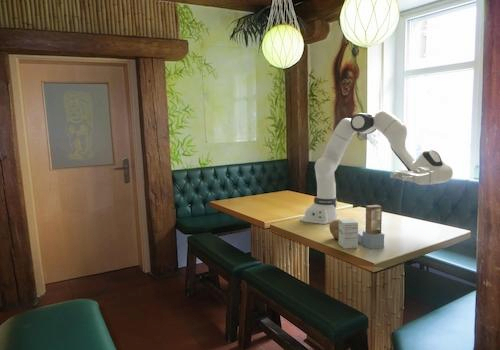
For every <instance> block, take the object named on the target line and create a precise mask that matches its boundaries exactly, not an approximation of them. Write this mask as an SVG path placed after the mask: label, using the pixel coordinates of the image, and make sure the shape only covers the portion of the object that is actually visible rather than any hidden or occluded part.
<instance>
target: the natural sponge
mask: <svg viewBox="0 0 500 350" xmlns="http://www.w3.org/2000/svg"><path fill="white" fill-rule="evenodd" d="M328 228H329V232H330V234H331V235H332V237H333V238H334V239H335V240H339V219H338V220H334V221H332V222H331V223H329V224H328Z"/></svg>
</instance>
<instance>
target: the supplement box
mask: <svg viewBox="0 0 500 350" xmlns="http://www.w3.org/2000/svg"><path fill="white" fill-rule="evenodd" d="M338 220H339V239H338V244H339V246H341V247H342V249H355V248H356V249H357V248H358V247H359V242H358V231H359V222H358V221H357V220H356V219H354V218H338Z"/></svg>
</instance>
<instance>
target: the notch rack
mask: <svg viewBox="0 0 500 350" xmlns="http://www.w3.org/2000/svg"><path fill="white" fill-rule="evenodd" d="M365 231H366V229H364V230H358V243H360V244H362V245H363V246H365V247H366V248H369V249H370V250H373V249H380V248H382V249H383V248H384V247H385V233H383V232H381V233H378V234H368V233H366V232H365Z"/></svg>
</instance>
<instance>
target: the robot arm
mask: <svg viewBox="0 0 500 350" xmlns="http://www.w3.org/2000/svg"><path fill="white" fill-rule="evenodd" d="M376 130H378V131H379V132H380V133H381V134H382V135H383V136H384V137H385V138H386V139H387V141H388V143H389V145H390V149H391V150H392V152H393V153H394V154H395V155H396V157H397V158H398V159H399V160H400V162H401V163H402V165H404V167H405V168H406V169H407V170H394V172H393V173H390V175H389V176H390V177H389V178H391V179H399V180H402V181H403V182H404V181H405V182H406V181H407V182H411V183H415V184H417V185H421V186H422V185H423V186H424V185H429V186H431V185H434V184H437V185H438V184H443V183H447V182H449V181H451V179H452V177H453V174H454V172H453V169H452V167H451V166H449V165H447V164H446V163H445V162H444V161H443V160H442V158H441V156H440V154H439V153H438V152H437V151H436V150H433V149H424V150H423V151H422V153H421V154H420V155H419V156H418V157H417V158H416V160H415V158H414V157H413V156H412V155H411V154H410V152H409V151H408V150H407V148H406V139H407V135H408V129H407V126H406V125H405V124H404V123H403V122H402V121H401V120H400V119H399V118H398V117H396V116H395V115H394V114H393V113H391V112H389V111H387V110H385V109H381V110H379V111H377V112H376V113H375V114H373V115H372V114H371V113H364V112H359V113H356V114H354V115H352V117H351V118H350V117H349V118H348V117H345V118H342V119H341V120H340V121H339V123H338V124H337V125H336V127H335V129H334V131H333V132H332V134H331V136H330V137H329V140H328V142H327V143H326V148H325V150H324V152H323V154H322V156H321V157H319V159H316V162H315V164H314V170H315V171H314V172H315V178H316V188H317V189H316V193H317V196H315V197H314V198H313V203H312V204H311V205H309V206H308V207H307V208H306V209H305V211H304V215H302V216H301V217H300V221H301V222H305V223H314V224H320V225H321V224H323V225H326V224H330V223H331V222H332V221H334V220H339V217H338V213H337V212H338V211H337V205H338V199H337V196H336V195H337V183H336V177H335V172H336V170H337V169H338V166H339V165H340V163H341V161H342V158H343V157H344V154H345V152H346V150H347V148H348V146H349V145H350V142H351V141H352V139H353V137H354V136H355V134H356V133H359V134H362V135H363V134H367V135H368V134H372V133H374V132H376Z"/></svg>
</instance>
